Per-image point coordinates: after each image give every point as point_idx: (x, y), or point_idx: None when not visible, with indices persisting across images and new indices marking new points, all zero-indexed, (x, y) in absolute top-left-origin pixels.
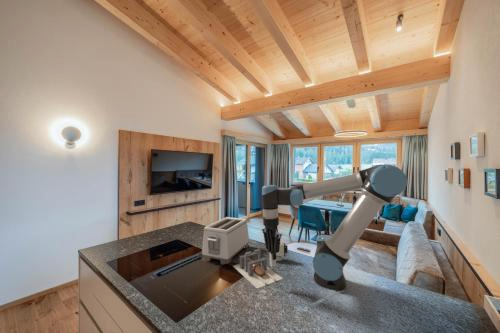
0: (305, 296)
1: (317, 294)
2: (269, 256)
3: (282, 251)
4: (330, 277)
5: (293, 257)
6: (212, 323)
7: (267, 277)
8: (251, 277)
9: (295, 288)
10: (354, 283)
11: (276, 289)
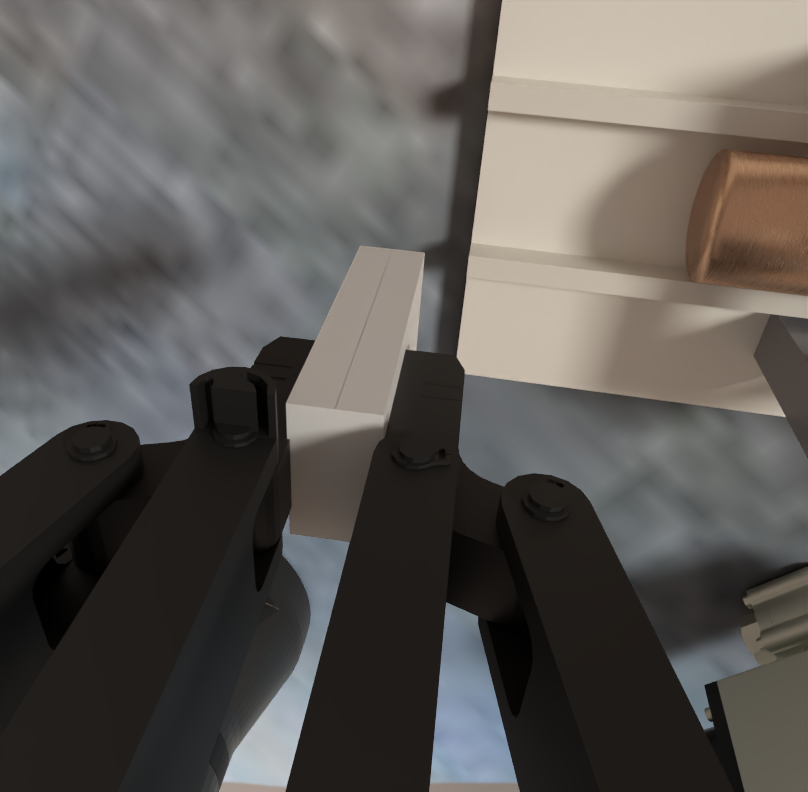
0: (108, 311)
1: (91, 409)
2: (452, 372)
3: (750, 730)
4: None
5: None
6: None
7: (616, 240)
8: None
9: (261, 340)
10: None
11: (364, 161)
